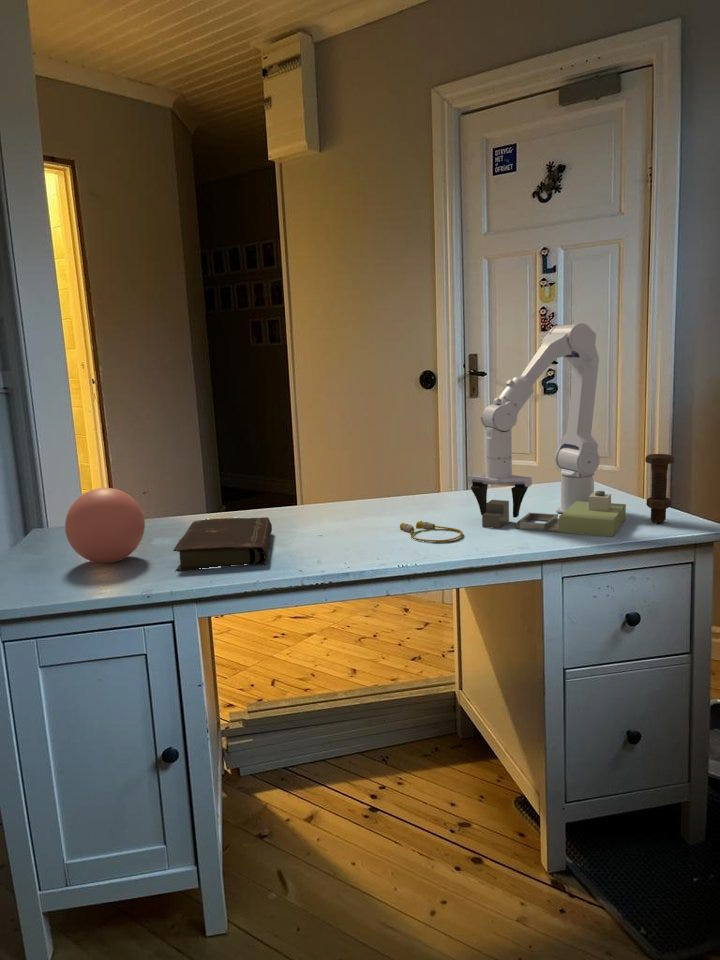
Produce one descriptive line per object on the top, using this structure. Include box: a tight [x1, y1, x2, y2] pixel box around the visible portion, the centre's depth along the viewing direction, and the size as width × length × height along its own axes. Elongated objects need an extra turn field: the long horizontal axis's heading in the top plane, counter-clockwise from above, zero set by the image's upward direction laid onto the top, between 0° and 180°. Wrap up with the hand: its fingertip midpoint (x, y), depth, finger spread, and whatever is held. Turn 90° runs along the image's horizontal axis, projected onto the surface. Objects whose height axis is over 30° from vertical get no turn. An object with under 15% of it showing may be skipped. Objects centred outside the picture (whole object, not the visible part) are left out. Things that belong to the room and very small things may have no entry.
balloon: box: [64, 487, 146, 564], centre depth 151 cm, size 15×20×15 cm
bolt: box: [645, 453, 675, 525], centre depth 159 cm, size 6×5×15 cm
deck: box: [558, 490, 627, 538], centre depth 160 cm, size 16×11×7 cm
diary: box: [173, 516, 273, 573], centre depth 154 cm, size 19×25×5 cm
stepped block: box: [481, 499, 510, 529], centre depth 165 cm, size 7×4×5 cm, turn 151°
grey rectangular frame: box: [516, 512, 560, 533], centre depth 163 cm, size 10×9×2 cm
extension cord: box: [399, 520, 463, 543], centre depth 160 cm, size 12×16×2 cm
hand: (499, 515), depth 168 cm, fingers open, 7 cm apart
